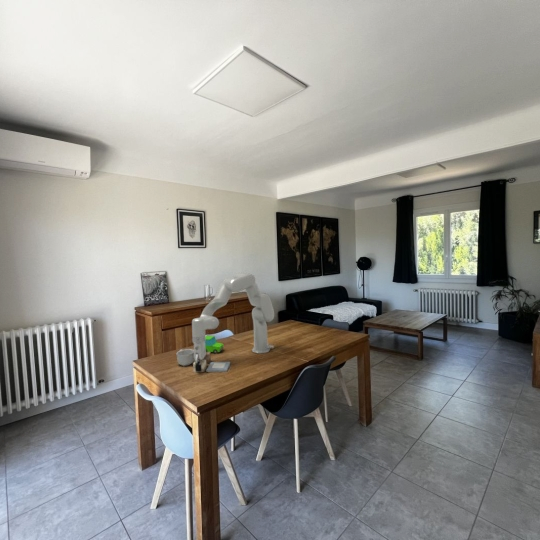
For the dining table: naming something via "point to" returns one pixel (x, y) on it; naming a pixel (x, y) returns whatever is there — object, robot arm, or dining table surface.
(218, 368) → the plate
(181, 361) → the teacup
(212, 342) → the toy car
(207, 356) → the block top
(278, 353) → the dining table surface
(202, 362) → the block base
